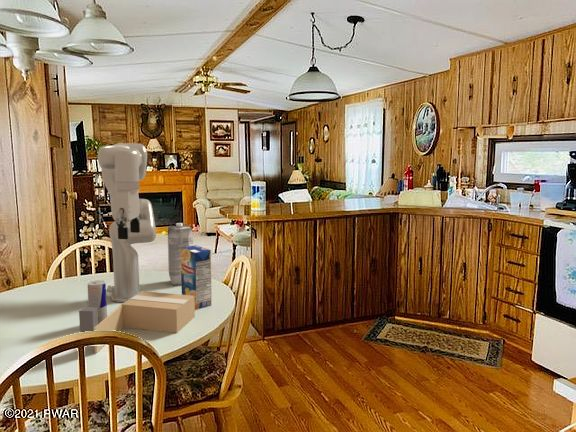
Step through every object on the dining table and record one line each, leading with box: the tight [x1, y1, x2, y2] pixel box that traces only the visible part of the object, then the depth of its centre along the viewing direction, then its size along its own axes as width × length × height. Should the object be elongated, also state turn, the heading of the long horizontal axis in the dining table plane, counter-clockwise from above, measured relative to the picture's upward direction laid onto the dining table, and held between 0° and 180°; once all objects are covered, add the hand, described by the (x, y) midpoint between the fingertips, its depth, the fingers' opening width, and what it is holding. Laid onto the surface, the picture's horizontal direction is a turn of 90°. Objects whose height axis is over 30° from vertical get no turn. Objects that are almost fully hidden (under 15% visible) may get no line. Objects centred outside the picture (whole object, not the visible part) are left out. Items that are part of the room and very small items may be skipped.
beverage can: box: [87, 279, 108, 324], centre depth 148 cm, size 6×6×15 cm
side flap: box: [78, 305, 124, 354], centre depth 136 cm, size 19×5×13 cm, turn 178°
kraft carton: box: [121, 291, 196, 334], centre depth 151 cm, size 20×14×8 cm
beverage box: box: [180, 244, 213, 310], centre depth 169 cm, size 7×11×22 cm, turn 42°
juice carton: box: [167, 222, 194, 286], centre depth 195 cm, size 9×10×27 cm
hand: (129, 235), depth 150 cm, fingers open, 9 cm apart
